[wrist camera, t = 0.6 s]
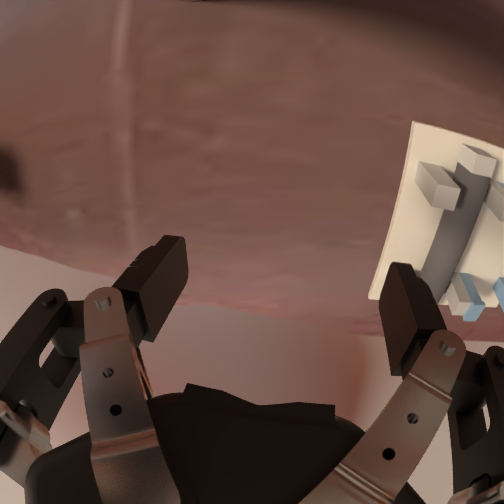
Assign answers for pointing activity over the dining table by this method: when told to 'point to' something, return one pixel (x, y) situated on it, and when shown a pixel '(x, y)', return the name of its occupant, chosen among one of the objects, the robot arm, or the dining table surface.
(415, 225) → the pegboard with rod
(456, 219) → the dark grey dowel
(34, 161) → the dining table surface
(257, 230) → the dining table surface
